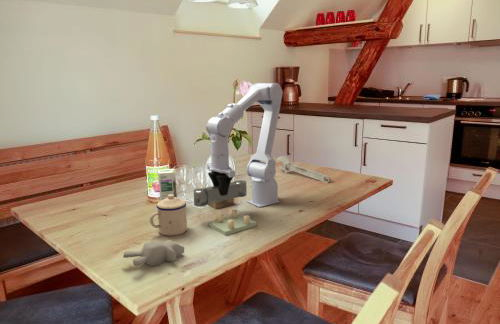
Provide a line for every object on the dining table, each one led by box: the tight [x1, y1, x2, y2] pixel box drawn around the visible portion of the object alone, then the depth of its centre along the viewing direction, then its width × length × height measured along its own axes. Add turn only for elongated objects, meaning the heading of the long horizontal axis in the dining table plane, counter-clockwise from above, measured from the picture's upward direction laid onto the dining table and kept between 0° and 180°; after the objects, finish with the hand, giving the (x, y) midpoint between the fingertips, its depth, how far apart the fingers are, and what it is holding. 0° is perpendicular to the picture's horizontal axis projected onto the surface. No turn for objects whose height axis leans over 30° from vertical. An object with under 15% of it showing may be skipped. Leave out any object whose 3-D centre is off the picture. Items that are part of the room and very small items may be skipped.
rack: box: [209, 209, 258, 236], centre depth 128 cm, size 12×9×4 cm
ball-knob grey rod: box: [193, 180, 247, 207], centre depth 133 cm, size 20×4×5 cm, turn 126°
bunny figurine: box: [122, 239, 185, 267], centre depth 105 cm, size 10×5×15 cm
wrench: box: [276, 155, 332, 184], centre depth 183 cm, size 8×2×30 cm
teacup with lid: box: [149, 194, 188, 236], centre depth 123 cm, size 12×9×12 cm
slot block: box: [206, 198, 235, 210], centre depth 149 cm, size 8×8×3 cm
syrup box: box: [157, 168, 178, 201], centre depth 143 cm, size 6×6×14 cm
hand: (221, 193), depth 134 cm, fingers closed on ball-knob grey rod, 3 cm apart
